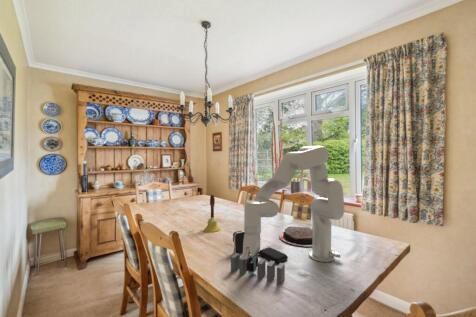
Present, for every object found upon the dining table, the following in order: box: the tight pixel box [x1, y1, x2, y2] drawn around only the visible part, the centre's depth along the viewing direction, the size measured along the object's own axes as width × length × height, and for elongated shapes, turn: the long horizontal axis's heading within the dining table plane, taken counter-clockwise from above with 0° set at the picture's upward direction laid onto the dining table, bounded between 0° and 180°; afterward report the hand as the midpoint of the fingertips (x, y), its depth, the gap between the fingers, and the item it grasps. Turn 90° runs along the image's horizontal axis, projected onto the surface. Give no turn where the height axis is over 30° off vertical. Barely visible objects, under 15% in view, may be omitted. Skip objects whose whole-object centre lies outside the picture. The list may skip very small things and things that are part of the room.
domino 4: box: [256, 258, 267, 281], centre depth 103 cm, size 2×5×7 cm, turn 153°
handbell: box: [203, 194, 222, 234], centre depth 167 cm, size 12×12×25 cm
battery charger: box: [232, 230, 245, 254], centre depth 130 cm, size 7×4×11 cm, turn 122°
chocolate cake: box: [278, 226, 312, 248], centre depth 150 cm, size 28×28×7 cm
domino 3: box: [247, 254, 257, 275], centre depth 105 cm, size 2×5×7 cm, turn 153°
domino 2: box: [238, 254, 248, 276], centre depth 107 cm, size 2×5×7 cm, turn 153°
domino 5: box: [266, 261, 276, 283], centre depth 102 cm, size 2×5×7 cm, turn 153°
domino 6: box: [276, 262, 286, 286], centre depth 100 cm, size 2×5×7 cm, turn 153°
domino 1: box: [230, 253, 241, 274], centre depth 109 cm, size 2×5×7 cm, turn 153°
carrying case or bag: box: [258, 247, 289, 265], centre depth 123 cm, size 11×3×15 cm
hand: (252, 268), depth 105 cm, fingers closed on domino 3, 4 cm apart
